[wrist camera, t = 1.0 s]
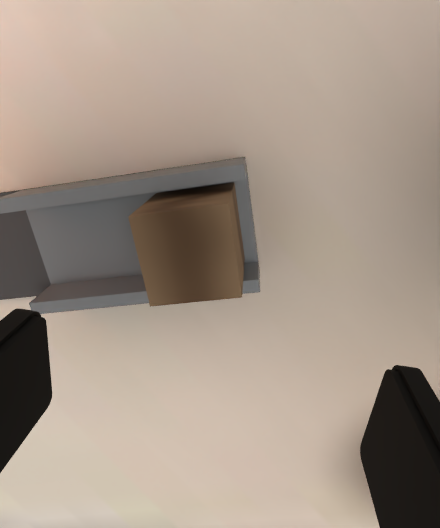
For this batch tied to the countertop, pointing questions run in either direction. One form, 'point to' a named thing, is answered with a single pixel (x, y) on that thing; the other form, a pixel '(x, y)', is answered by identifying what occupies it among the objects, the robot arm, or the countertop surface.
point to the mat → (20, 257)
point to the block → (190, 245)
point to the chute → (114, 232)
